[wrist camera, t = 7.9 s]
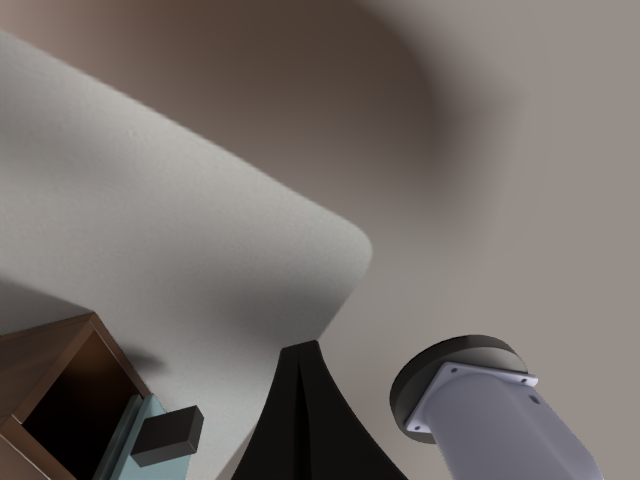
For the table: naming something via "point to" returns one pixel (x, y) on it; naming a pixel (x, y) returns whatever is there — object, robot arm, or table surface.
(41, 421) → the cabinet
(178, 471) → the glass door
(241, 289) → the table surface
